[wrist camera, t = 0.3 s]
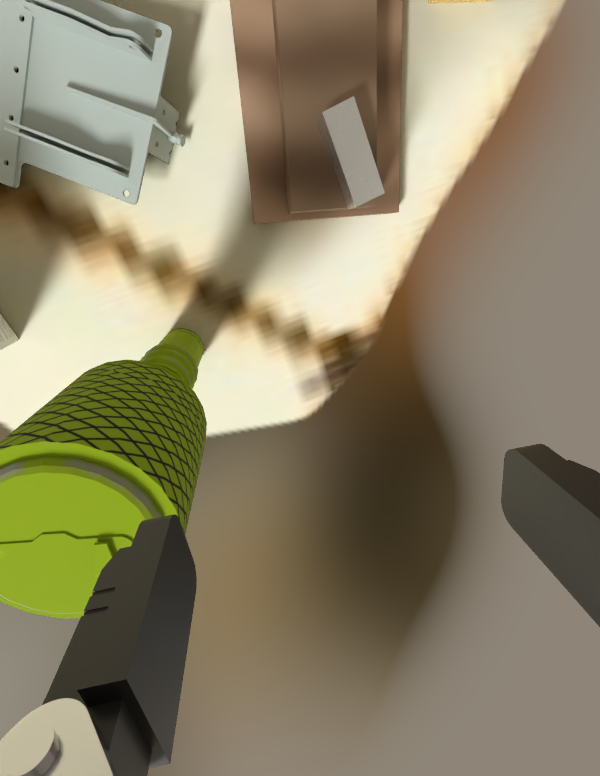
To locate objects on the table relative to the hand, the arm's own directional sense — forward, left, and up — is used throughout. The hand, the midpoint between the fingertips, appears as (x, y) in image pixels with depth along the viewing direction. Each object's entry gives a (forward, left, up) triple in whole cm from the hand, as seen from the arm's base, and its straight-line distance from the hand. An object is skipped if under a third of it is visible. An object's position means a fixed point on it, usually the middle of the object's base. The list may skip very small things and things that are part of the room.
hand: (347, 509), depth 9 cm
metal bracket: (-16, -12, -29) cm, 35 cm away
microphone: (+3, -9, -28) cm, 30 cm away
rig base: (-17, +5, -28) cm, 33 cm away
